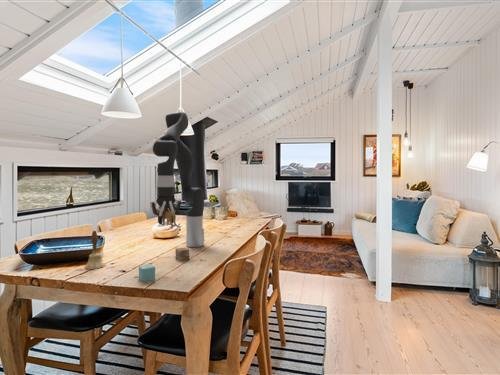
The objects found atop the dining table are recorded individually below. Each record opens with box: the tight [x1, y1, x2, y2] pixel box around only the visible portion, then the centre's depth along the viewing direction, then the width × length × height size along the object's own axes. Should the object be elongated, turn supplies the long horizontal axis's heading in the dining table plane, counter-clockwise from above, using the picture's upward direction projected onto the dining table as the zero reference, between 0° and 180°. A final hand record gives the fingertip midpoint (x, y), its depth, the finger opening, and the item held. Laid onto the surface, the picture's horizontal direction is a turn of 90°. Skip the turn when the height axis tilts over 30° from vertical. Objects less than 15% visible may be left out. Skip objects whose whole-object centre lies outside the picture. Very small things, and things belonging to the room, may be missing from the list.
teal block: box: [138, 263, 156, 282], centre depth 124 cm, size 5×5×5 cm
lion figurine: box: [156, 207, 180, 229], centre depth 138 cm, size 15×5×9 cm, turn 50°
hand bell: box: [84, 230, 106, 270], centre depth 139 cm, size 8×8×16 cm
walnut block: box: [175, 247, 190, 262], centre depth 151 cm, size 5×5×5 cm
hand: (166, 223), depth 140 cm, fingers closed on lion figurine, 4 cm apart
